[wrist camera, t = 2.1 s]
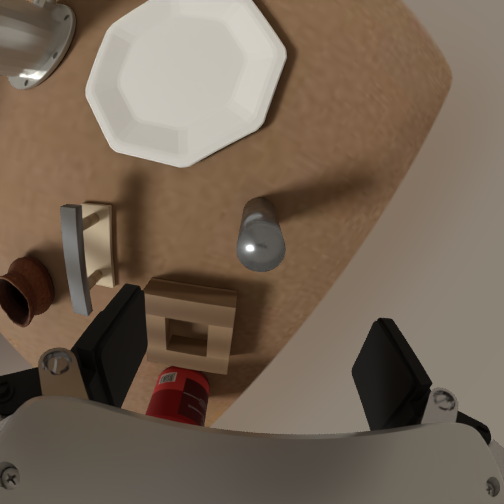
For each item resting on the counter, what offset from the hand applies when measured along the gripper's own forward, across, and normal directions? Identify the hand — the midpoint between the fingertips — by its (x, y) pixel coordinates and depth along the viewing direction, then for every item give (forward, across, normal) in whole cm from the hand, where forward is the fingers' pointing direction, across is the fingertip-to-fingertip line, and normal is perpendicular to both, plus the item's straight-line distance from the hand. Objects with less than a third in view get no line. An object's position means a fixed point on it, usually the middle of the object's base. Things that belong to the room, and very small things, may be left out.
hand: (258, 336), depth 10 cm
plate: (+19, +10, -14) cm, 26 cm away
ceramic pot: (+19, +31, +13) cm, 38 cm away
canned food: (+19, +7, +26) cm, 33 cm away
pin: (+18, 0, 0) cm, 19 cm away
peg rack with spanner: (+18, +18, +6) cm, 26 cm away
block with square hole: (+18, +6, +14) cm, 24 cm away
